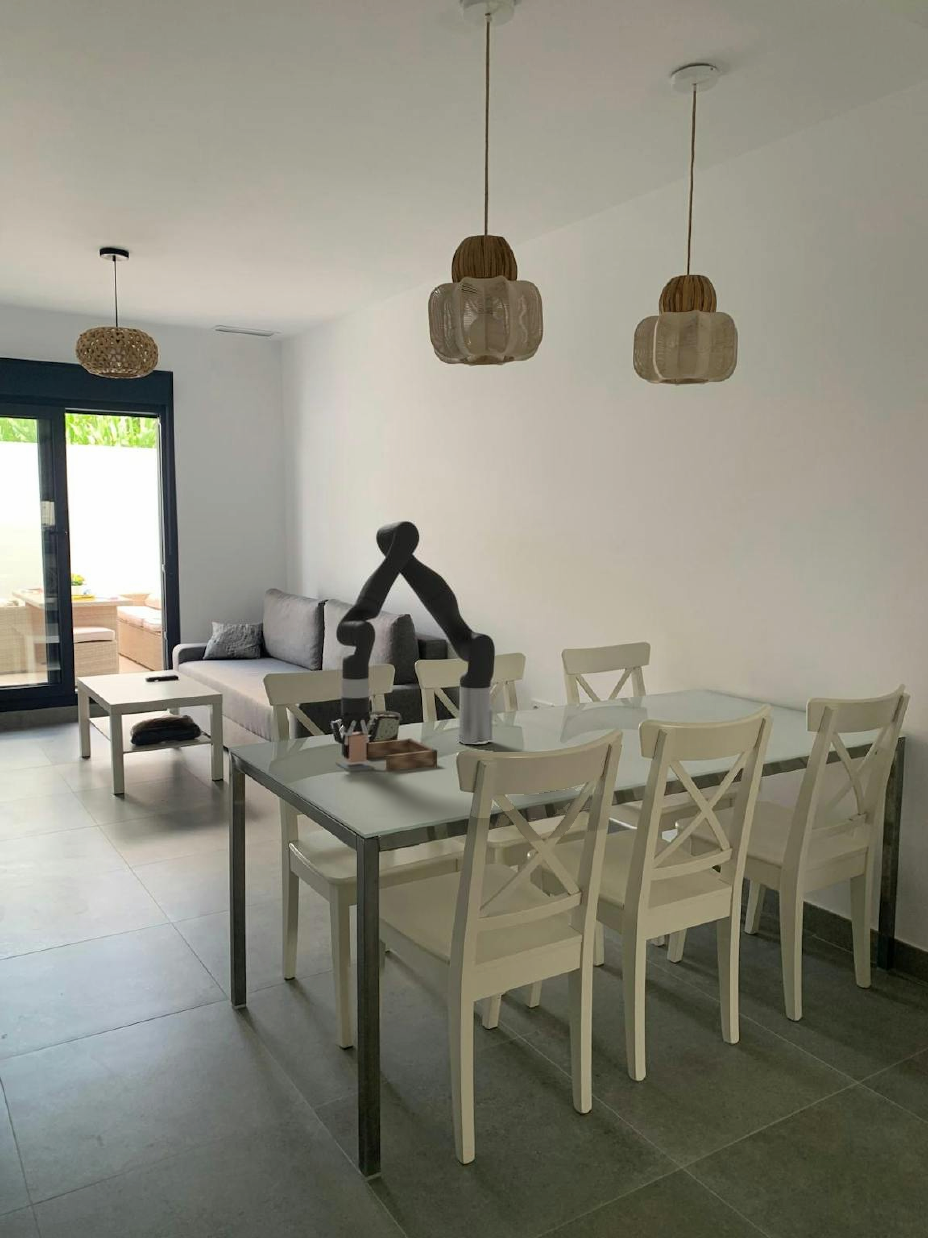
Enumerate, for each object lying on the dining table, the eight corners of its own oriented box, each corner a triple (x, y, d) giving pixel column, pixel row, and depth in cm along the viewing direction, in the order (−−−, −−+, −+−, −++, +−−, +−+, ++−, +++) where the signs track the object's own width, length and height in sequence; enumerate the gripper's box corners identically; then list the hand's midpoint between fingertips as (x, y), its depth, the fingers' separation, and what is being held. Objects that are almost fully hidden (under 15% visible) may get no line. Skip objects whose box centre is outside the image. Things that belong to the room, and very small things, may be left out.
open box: (410, 752, 277) (410, 738, 277) (437, 765, 263) (437, 750, 263) (363, 757, 270) (363, 743, 270) (388, 771, 256) (388, 756, 255)
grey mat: (359, 761, 266) (359, 759, 266) (374, 769, 257) (374, 767, 257) (335, 763, 263) (335, 762, 263) (350, 772, 254) (350, 770, 254)
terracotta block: (359, 757, 263) (359, 732, 262) (366, 760, 259) (366, 735, 258) (344, 758, 261) (344, 733, 260) (350, 762, 257) (350, 736, 256)
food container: (395, 742, 289) (395, 709, 288) (401, 747, 283) (401, 713, 282) (355, 745, 285) (355, 712, 284) (360, 750, 279) (360, 716, 278)
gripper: (374, 690, 265) (373, 751, 267) (325, 694, 258) (325, 756, 260) (385, 694, 258) (385, 757, 260) (335, 698, 251) (335, 763, 253)
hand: (355, 756), depth 260 cm, fingers closed on terracotta block, 4 cm apart
